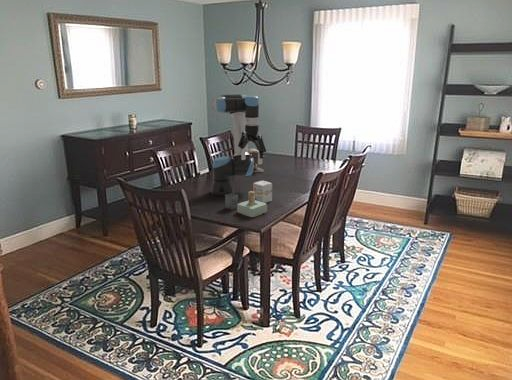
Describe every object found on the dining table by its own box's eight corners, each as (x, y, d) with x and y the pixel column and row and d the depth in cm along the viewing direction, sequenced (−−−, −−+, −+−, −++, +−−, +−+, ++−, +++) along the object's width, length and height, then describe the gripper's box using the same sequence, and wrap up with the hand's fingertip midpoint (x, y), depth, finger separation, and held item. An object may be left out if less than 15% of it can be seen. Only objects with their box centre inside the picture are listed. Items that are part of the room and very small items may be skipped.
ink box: (252, 200, 251) (252, 182, 248) (262, 197, 257) (262, 180, 253) (262, 204, 245) (262, 185, 242) (272, 200, 251) (272, 182, 247)
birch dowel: (247, 212, 231) (247, 192, 228) (251, 210, 234) (251, 190, 230) (251, 213, 229) (251, 193, 225) (256, 212, 231) (256, 192, 228)
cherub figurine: (242, 167, 332) (241, 146, 327) (264, 167, 333) (264, 146, 328) (242, 173, 316) (241, 150, 310) (265, 173, 316) (265, 150, 311)
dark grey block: (225, 207, 239) (224, 194, 236) (232, 205, 242) (232, 192, 240) (231, 210, 235) (231, 197, 233) (238, 207, 239) (238, 194, 236)
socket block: (237, 212, 231) (237, 204, 230) (252, 207, 239) (252, 199, 238) (252, 217, 223) (252, 209, 222) (267, 212, 231) (267, 203, 230)
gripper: (231, 122, 231) (232, 158, 238) (263, 128, 214) (262, 167, 221) (241, 121, 236) (241, 156, 243) (272, 126, 219) (272, 164, 226)
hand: (251, 161), depth 232 cm, fingers open, 13 cm apart
